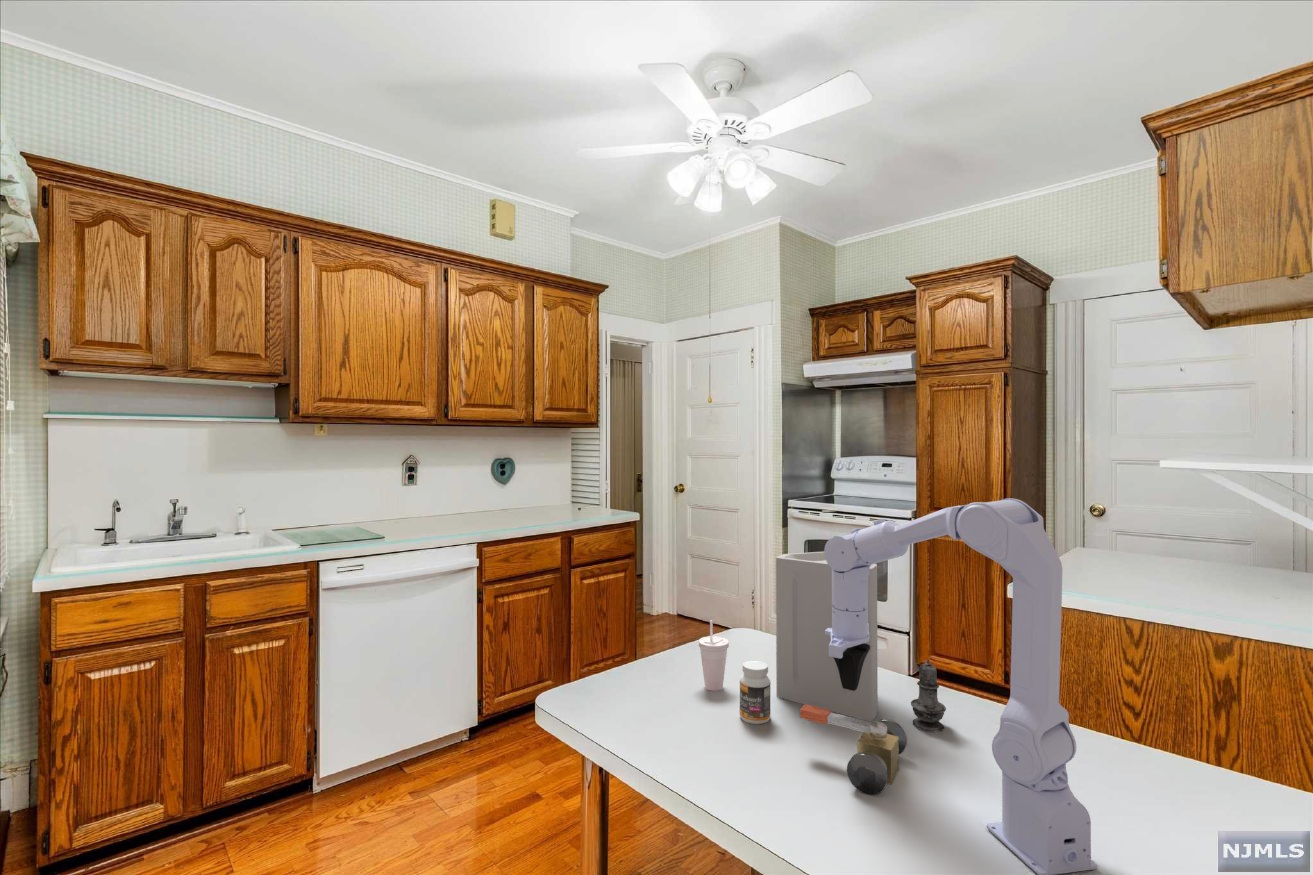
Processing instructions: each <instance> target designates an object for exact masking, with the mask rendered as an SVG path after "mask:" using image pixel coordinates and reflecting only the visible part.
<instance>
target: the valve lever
mask: <svg viewBox="0 0 1313 875" xmlns="http://www.w3.org/2000/svg"><path fill="white" fill-rule="evenodd" d="M799 718H800V719H804V720H808V721H810V722H814V723H818V724H822V725H827V724H831V725H834V726H838V727H843V728H846V729H848V730H849V729H850V730H854V731H858V732H860V733H863V732H865V733H869V734H870V735H871V736H872V737H874V738H879V739H883V738H886V737H887V726H886V725H885V724H884V723H881V722H876V721H867V720H863V719H859V718H855V717H851V716H848V715H844V714H840V713H836V712H832V711H831V710H827V709H823V708H819V707H815V706H811V705H807V704H803V705H802V707H801V708H800V709H799Z"/></svg>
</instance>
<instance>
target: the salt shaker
mask: <svg viewBox="0 0 1313 875" xmlns="http://www.w3.org/2000/svg"><path fill="white" fill-rule="evenodd" d="M930 662H931V661H930V659H928V658H927V659H926V660H925V662H924V663H921V665H920V666H919V681H917V683H916V685H918V698H914V699H912V700H911V701H910V705H911V707H912V711H913V714H914V715H915V716H916V717H915V719H913V720H912V725H913V726H914V727H915V728H916V729H919V730H921V731H924V732H928V733H930V732H931V733H940V732H942V731H944V730H945V725H944V724H943V723H942V722H941V720H942V719H943V717H944V715H945V712H946V711H947V708H946V706H945V705H944V704H943V703H941V702H940V701H939V699H938V689H939V687H940V685H939V684H938V682H937V681H938V678H937V676H938V674H937V672H938V671H937V668H936V666H935V665H933V664H931V663H930Z"/></svg>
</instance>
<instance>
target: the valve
mask: <svg viewBox="0 0 1313 875" xmlns="http://www.w3.org/2000/svg"><path fill="white" fill-rule="evenodd" d="M875 722H881V723H884V724H885V725H886V726H887V737H886V738H883V739H879V738H874V737H872V736H871V735H870V734H869V733H865V732H862V734H861V736H860V737H859V738H858V740H857V742H856V743H857V744H856V746H857V753H855V754H854V755H852V756H851V757H850V759H849V760H848V762H847V765H846V772H847V777H848V780H849V782H850V783H851V785H852V786H853V787H854V788H855V789H857V791H859V792H860V793H862V794H865V795H868V796H876V795H878V794H880V793H882V792H883V791H884V790H885V787H886V786H887V785H890V786H891V785H892V784H893V781H894V780H895V779H896V776H897V774H898V772H899V770H900V768H899V767H900V766H899V765H900V764H899V763H900V762H899V761H900V760H899V758H900V755H901V754H902V753H903V752H904V751H905V749H906V747H907V744H908V738H907V734H906V732H905V730H904V729H903V727H902V725H900V724H899V723H898V722H897V721H895V720H892V719H890V718H880V719H878V720H876V721H875Z"/></svg>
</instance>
